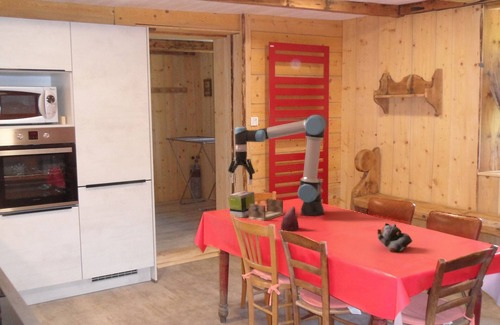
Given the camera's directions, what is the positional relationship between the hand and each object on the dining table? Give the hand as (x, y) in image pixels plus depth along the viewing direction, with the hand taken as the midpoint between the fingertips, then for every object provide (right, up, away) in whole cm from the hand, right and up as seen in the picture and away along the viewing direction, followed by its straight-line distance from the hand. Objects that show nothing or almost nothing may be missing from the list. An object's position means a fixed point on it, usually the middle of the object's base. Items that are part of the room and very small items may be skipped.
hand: (241, 183), depth 354 cm
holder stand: (+16, -21, -4) cm, 27 cm away
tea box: (+1, -21, +2) cm, 21 cm away
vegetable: (+28, -25, -39) cm, 54 cm away
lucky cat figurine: (+77, -29, -85) cm, 118 cm away
